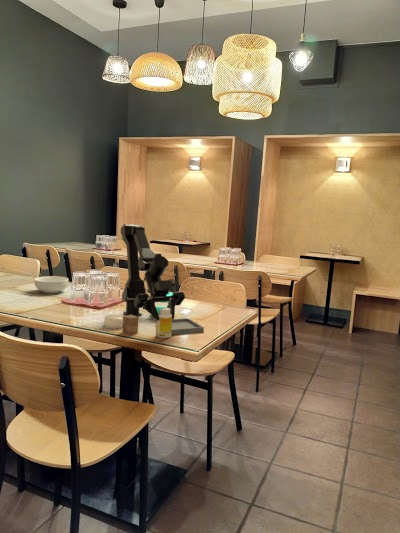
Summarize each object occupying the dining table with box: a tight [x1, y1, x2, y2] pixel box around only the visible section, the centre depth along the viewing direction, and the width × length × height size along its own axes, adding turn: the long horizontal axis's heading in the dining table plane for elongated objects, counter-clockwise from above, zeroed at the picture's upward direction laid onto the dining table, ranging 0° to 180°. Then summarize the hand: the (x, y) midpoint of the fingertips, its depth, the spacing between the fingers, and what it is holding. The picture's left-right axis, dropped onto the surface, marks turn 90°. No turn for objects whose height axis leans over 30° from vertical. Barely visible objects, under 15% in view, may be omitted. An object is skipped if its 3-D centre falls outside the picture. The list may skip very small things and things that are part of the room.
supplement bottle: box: [155, 308, 172, 339], centre depth 149 cm, size 6×6×10 cm
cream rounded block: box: [103, 314, 124, 329], centre depth 159 cm, size 8×8×4 cm
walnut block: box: [121, 315, 139, 335], centre depth 152 cm, size 4×4×6 cm
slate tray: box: [155, 317, 205, 336], centre depth 161 cm, size 14×14×2 cm
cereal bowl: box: [34, 275, 69, 294], centre depth 214 cm, size 17×17×7 cm
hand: (165, 319), depth 148 cm, fingers closed on supplement bottle, 6 cm apart
